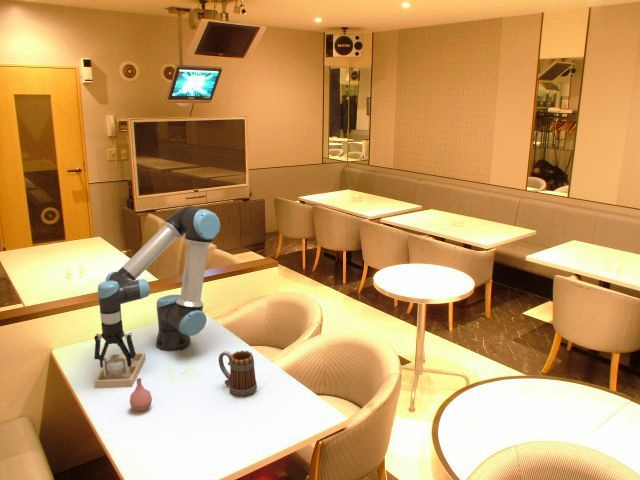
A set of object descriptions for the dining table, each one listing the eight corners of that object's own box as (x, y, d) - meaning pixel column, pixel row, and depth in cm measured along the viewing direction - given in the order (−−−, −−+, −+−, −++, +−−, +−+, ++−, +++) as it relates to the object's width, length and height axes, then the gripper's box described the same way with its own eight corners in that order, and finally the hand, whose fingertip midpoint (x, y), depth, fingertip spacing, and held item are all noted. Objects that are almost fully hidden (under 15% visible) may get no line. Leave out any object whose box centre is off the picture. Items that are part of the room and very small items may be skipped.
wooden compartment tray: (145, 360, 234) (145, 353, 233) (132, 388, 213) (131, 379, 212) (112, 361, 233) (111, 354, 232) (95, 389, 212) (94, 381, 211)
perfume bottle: (129, 405, 201) (126, 376, 198) (151, 401, 204) (148, 372, 201) (131, 416, 194) (128, 386, 191) (153, 412, 197) (151, 382, 194)
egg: (134, 362, 231) (133, 350, 230) (130, 369, 226) (129, 356, 224) (119, 363, 231) (118, 350, 229) (115, 370, 225) (114, 357, 224)
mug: (262, 387, 214) (261, 352, 210) (247, 400, 204) (246, 364, 200) (228, 378, 220) (226, 344, 216) (213, 391, 211) (211, 355, 207)
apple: (131, 374, 217) (129, 359, 216) (112, 381, 212) (110, 366, 210) (121, 367, 223) (120, 352, 221) (102, 374, 217) (101, 359, 215)
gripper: (141, 316, 215) (145, 368, 221) (87, 317, 214) (93, 370, 220) (136, 324, 208) (141, 377, 214) (80, 325, 207) (87, 379, 213)
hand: (117, 373), depth 217 cm, fingers closed on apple, 8 cm apart
